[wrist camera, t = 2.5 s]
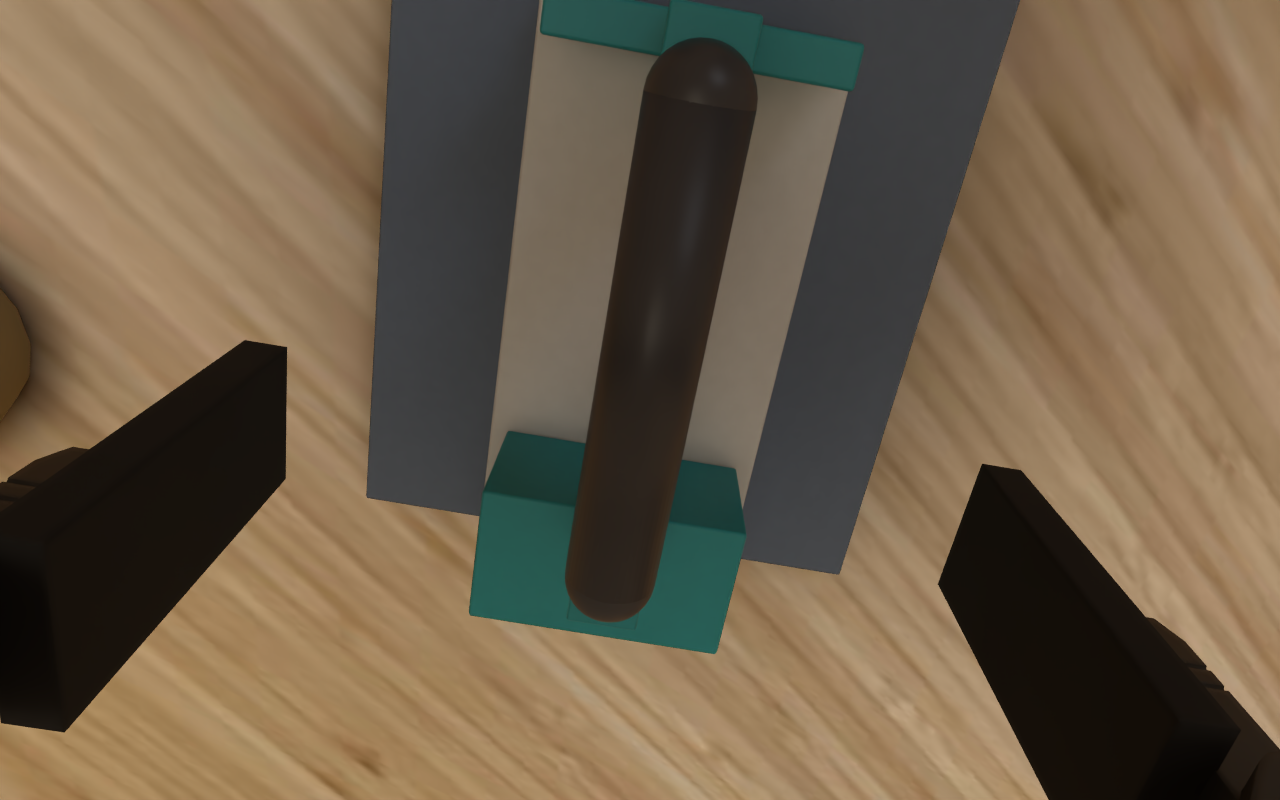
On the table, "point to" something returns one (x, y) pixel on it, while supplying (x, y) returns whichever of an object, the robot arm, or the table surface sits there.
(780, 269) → the iron
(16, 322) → the squeeze bottle
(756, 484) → the ironing mat
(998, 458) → the table surface
